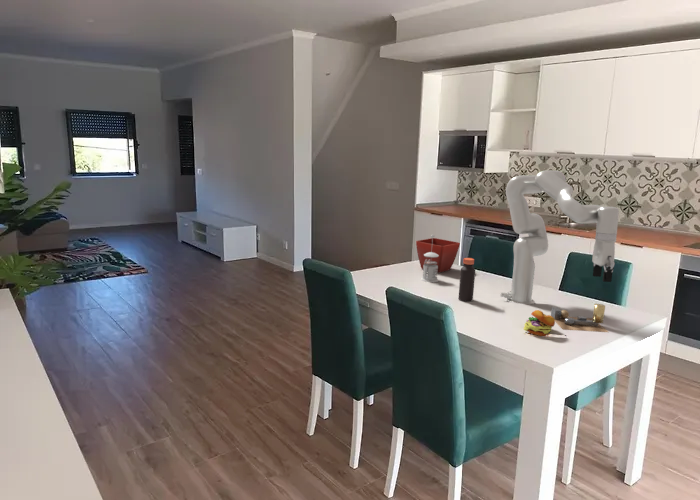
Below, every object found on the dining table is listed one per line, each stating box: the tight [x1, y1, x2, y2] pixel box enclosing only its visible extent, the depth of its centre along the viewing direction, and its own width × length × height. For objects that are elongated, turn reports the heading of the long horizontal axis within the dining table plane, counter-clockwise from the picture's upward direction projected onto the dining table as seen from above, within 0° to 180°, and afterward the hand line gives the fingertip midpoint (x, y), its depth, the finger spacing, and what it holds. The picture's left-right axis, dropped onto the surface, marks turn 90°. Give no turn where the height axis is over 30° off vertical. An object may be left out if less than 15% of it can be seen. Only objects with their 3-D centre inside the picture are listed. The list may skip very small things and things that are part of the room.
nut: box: [561, 309, 570, 319], centre depth 217 cm, size 4×4×4 cm
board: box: [555, 316, 609, 333], centre depth 211 cm, size 18×17×1 cm
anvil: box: [550, 306, 562, 320], centre depth 217 cm, size 2×5×4 cm, turn 175°
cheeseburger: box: [523, 309, 556, 337], centre depth 202 cm, size 10×11×10 cm
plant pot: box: [415, 237, 461, 274], centre depth 301 cm, size 19×19×17 cm
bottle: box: [458, 257, 476, 303], centre depth 241 cm, size 7×7×20 cm
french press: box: [420, 234, 439, 283], centre depth 275 cm, size 10×12×25 cm
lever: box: [564, 303, 606, 326], centre depth 209 cm, size 15×5×9 cm, turn 85°
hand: (601, 278), depth 207 cm, fingers open, 9 cm apart
